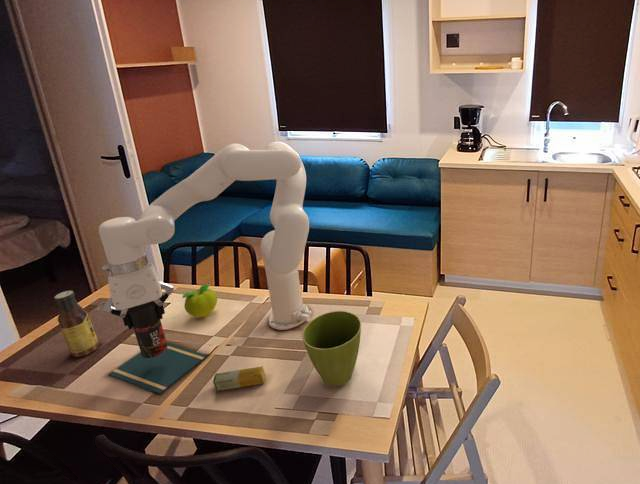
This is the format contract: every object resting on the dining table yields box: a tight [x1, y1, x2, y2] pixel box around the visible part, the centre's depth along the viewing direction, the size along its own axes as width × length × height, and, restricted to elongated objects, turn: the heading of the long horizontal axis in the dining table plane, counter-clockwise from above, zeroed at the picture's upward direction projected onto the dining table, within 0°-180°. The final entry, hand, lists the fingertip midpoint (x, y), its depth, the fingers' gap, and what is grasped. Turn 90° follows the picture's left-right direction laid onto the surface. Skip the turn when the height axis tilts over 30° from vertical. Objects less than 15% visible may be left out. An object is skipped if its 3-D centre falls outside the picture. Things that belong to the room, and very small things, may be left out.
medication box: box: [212, 366, 266, 392], centre depth 104 cm, size 12×3×4 cm, turn 101°
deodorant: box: [127, 301, 168, 358], centre depth 107 cm, size 6×6×15 cm
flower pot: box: [301, 310, 362, 388], centre depth 105 cm, size 15×15×16 cm
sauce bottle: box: [53, 290, 99, 358], centre depth 113 cm, size 6×6×20 cm
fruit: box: [181, 283, 218, 318], centre depth 131 cm, size 9×9×10 cm
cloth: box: [108, 342, 208, 395], centre depth 111 cm, size 20×14×1 cm
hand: (146, 320), depth 106 cm, fingers closed on deodorant, 6 cm apart
